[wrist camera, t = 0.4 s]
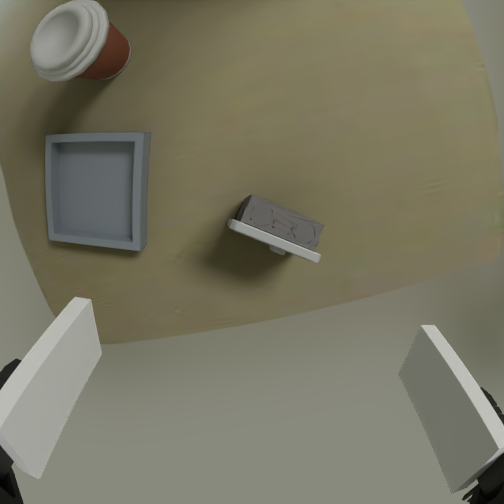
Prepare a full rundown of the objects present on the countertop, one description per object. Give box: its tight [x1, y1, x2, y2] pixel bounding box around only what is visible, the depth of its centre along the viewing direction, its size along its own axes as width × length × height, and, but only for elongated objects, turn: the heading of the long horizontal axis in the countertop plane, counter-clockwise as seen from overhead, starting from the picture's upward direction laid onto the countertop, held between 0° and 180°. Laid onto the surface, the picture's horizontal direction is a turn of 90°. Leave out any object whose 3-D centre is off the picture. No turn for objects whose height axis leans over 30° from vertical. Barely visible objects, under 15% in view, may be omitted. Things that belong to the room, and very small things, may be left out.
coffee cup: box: [30, 0, 132, 82], centre depth 23 cm, size 9×9×12 cm
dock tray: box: [45, 132, 151, 251], centre depth 34 cm, size 14×14×2 cm
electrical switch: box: [227, 194, 324, 263], centre depth 33 cm, size 9×5×9 cm, turn 67°
